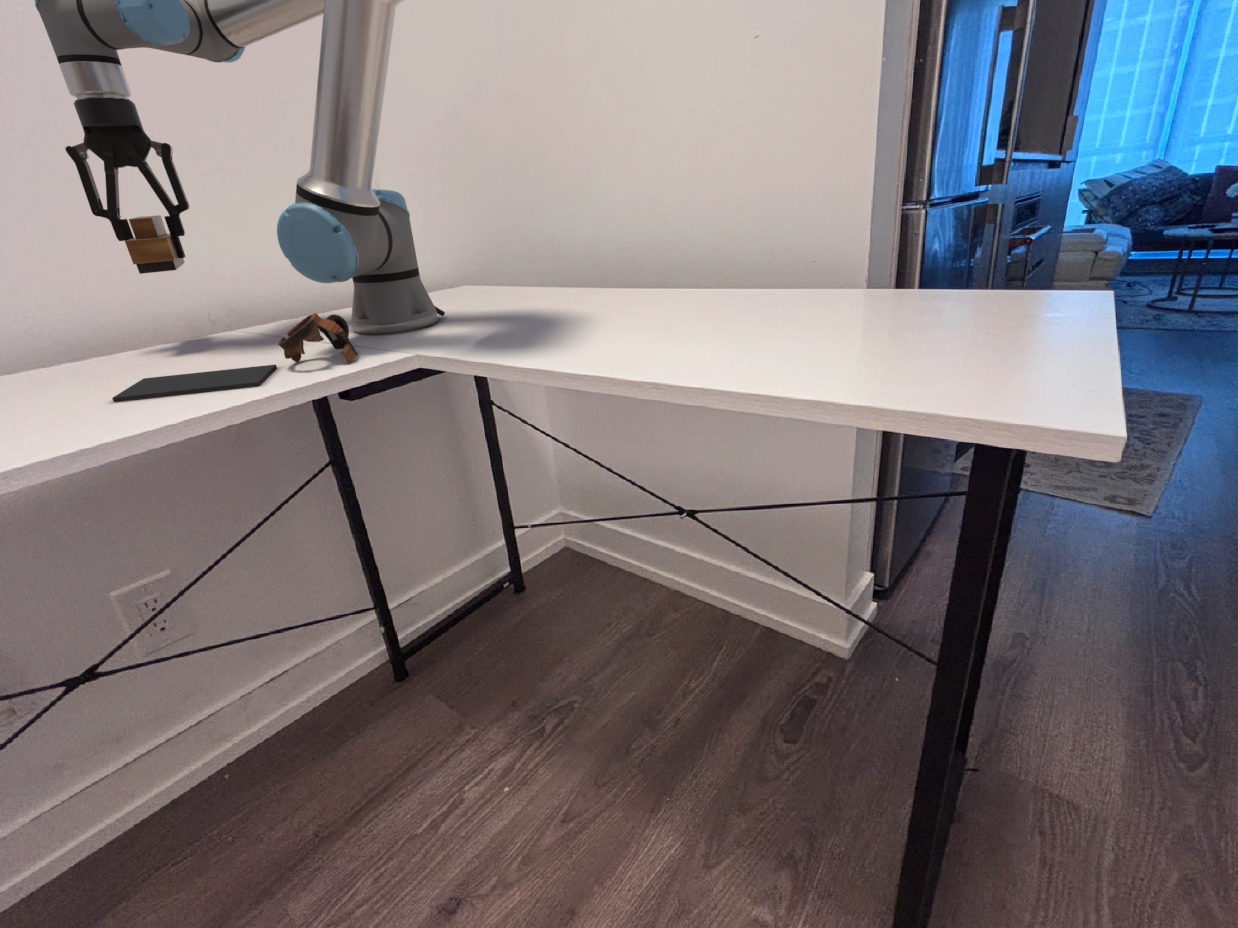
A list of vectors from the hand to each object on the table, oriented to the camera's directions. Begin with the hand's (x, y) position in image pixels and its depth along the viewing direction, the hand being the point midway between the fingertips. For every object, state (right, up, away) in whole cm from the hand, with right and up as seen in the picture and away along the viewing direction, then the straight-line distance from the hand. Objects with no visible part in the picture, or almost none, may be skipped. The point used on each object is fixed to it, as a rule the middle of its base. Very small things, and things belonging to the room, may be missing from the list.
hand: (160, 259), depth 104 cm
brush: (0, -1, +1) cm, 1 cm away
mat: (+17, -23, -16) cm, 33 cm away
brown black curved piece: (+32, -18, -8) cm, 37 cm away
